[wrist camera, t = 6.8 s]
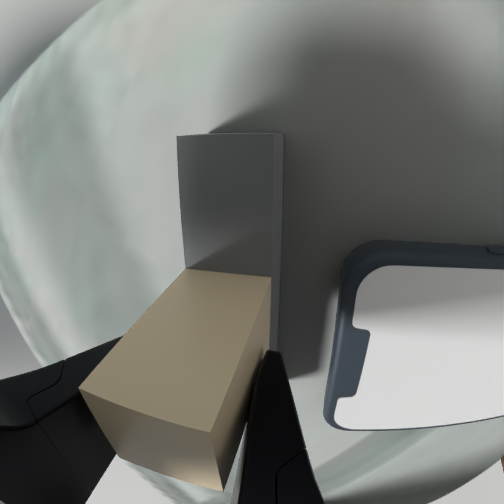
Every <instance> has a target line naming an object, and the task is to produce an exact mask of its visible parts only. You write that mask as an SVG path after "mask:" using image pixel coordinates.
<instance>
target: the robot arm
mask: <svg viewBox="0 0 504 504" xmlns="http://www.w3.org/2000/svg"><path fill="white" fill-rule="evenodd" d="M123 336H124V335H123ZM123 336H121V337H119V338H116V339H114V340H111V341H109V342H107V343H104V344H102V345H99V346H97V347H94V348H92V349H89V350H87V351H84V352H82V353H79V354H77V355H74V356H72V357H69V358H67V359H65V360H62V361H59V362H57V363H54V364H51V365H49V366H46V367H43V368H40V369H38V370H34V371H31V372H27V373H24V374H20V375H17V376H13V377H9V378H5V379H1V380H0V504H85V503H86V501H87V500H88V498H89V497H90V495H91V493H92V491H93V490H94V488H95V487H96V485H97V484H98V482H99V480H100V479H101V477H102V476H103V474H104V473H105V471H106V469H107V468H108V466H109V464H110V463H111V461H112V460H113V458H114V457H115V455H116V454H117V453H116V451H115V450H114V448H113V447H112V445H111V444H110V442H109V441H108V439H107V437H106V436H105V434H104V433H103V431H102V429H101V428H100V426H99V424H98V423H97V421H96V419H95V418H94V416H93V414H92V412H91V411H90V409H89V407H88V405H87V403H86V402H85V400H84V398H83V396H82V394H81V392H80V390H79V386H80V385H81V384H82V383H83V382H84V381H85V379H86V378H87V377H88V376H89V375H90V374H91V372H92V371H93V370H94V369H95V368H96V367H97V366H98V364H99V363H100V362H101V361H102V360H103V359H104V358H105V356H106V355H107V354H108V353H109V352H110V351H111V350H112V348H113V347H114V346H115V345H116V344H117V343H118V342H119V341H120V339H121V338H122V337H123ZM231 504H325V502H324V499H323V497H322V495H321V492H320V490H319V487H318V485H317V482H316V479H315V476H314V473H313V470H312V467H311V463H310V460H309V456H308V452H307V450H306V445H305V441H304V437H303V433H302V430H301V426H300V422H299V418H298V414H297V411H296V407H295V403H294V399H293V395H292V392H291V388H290V384H289V380H288V376H287V372H286V369H285V365H284V361H283V357H282V354H281V353H280V352H278V351H274V350H269V349H268V350H266V352H265V355H264V358H263V360H262V363H261V366H260V368H259V371H258V374H257V377H256V380H255V385H254V389H253V394H252V398H251V403H250V408H249V413H248V418H247V423H246V426H245V430H244V436H243V442H242V447H241V453H240V458H239V464H238V469H237V474H236V480H235V485H234V490H233V495H232V500H231Z"/></svg>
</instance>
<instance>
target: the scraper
mask: <svg viewBox="0 0 504 504" xmlns="http://www.w3.org/2000/svg"><path fill="white" fill-rule="evenodd" d="M177 158H178V178H179V194H180V209H181V222H182V234H183V245H184V256H185V265H186V269H185V270H184V271H183V272H182V273H181V274H180V275H179V276H178V277H177V278H176V280H175V281H174V282H173V283H172V284H171V285H170V286H169V287H168V288H167V289H166V290H165V291H164V292H163V293H162V294H161V296H160V297H159V298H158V299H157V300H156V301H155V302H154V303H153V304H152V305H151V306H150V307H149V309H148V310H147V311H146V312H145V313H144V314H143V315H142V316H141V317H140V318H139V320H138V321H137V322H136V323H135V324H134V325H133V326H132V327H131V328H130V329H129V331H128V332H127V333H126V334H125V335H124V336H123V337H122V338H121V339H120V341H119V342H118V343H117V344H116V345H115V346H114V347H113V348H112V350H111V351H110V352H109V353H108V354H107V355H106V356H105V358H104V359H103V360H102V361H101V362H100V363H99V364H98V366H97V367H96V368H95V369H94V370H93V371H92V372H91V374H90V375H89V376H88V377H87V378H86V379H85V381H84V382H83V383H82V384H81V385H80V386H79V390H80V392H81V394H82V396H83V398H84V400H85V402H86V403H87V405H88V407H89V409H90V411H91V412H92V414H93V416H94V418H95V419H96V421H97V423H98V424H99V426H100V428H101V429H102V431H103V433H104V434H105V436H106V437H107V439H108V441H109V442H110V444H111V445H112V447H113V448H114V450H115V451H116V453H117V454H118V456H119V457H120V458H122V459H125V460H127V461H130V462H132V463H134V464H137V465H139V466H142V467H145V468H147V469H150V470H153V471H155V472H158V473H161V474H164V475H167V476H170V477H173V478H176V479H179V480H182V481H185V482H189V483H192V484H196V485H199V486H203V487H207V488H211V489H215V490H219V491H224V488H225V485H226V483H227V480H228V477H229V474H230V471H231V468H232V465H233V462H234V459H235V456H236V453H237V450H238V447H239V444H240V441H241V438H242V435H243V432H244V429H245V426H246V423H247V418H248V413H249V408H250V403H251V398H252V394H253V389H254V385H255V380H256V377H257V374H258V371H259V368H260V366H261V363H262V360H263V358H264V355H265V352H266V350H268V349H269V350H274V351H277V340H278V321H279V300H280V276H281V249H282V214H283V162H284V133H216V134H198V135H186V136H177Z"/></svg>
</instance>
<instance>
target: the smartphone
mask: <svg viewBox="0 0 504 504" xmlns="http://www.w3.org/2000/svg"><path fill="white" fill-rule="evenodd" d="M323 415H324V418H325V420H326V422H327V423H328V424H329V425H331V426H332V427H334V428H337V429H340V430H347V431H387V430H409V429H423V428H434V427H443V426H451V425H459V424H466V423H472V422H478V421H483V420H489V419H494V418H499V417H503V416H504V247H502V246H473V245H458V244H442V243H425V242H408V241H389V240H377V241H372V242H368V243H366V244H363V245H361V246H360V247H358V248H357V249H355V250H354V251H353V252H352V253H351V254H350V255H349V256H348V258H347V259H346V261H345V263H344V265H343V268H342V271H341V276H340V286H339V296H338V306H337V315H336V323H335V332H334V339H333V347H332V354H331V361H330V367H329V374H328V380H327V386H326V392H325V398H324V410H323Z"/></svg>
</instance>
